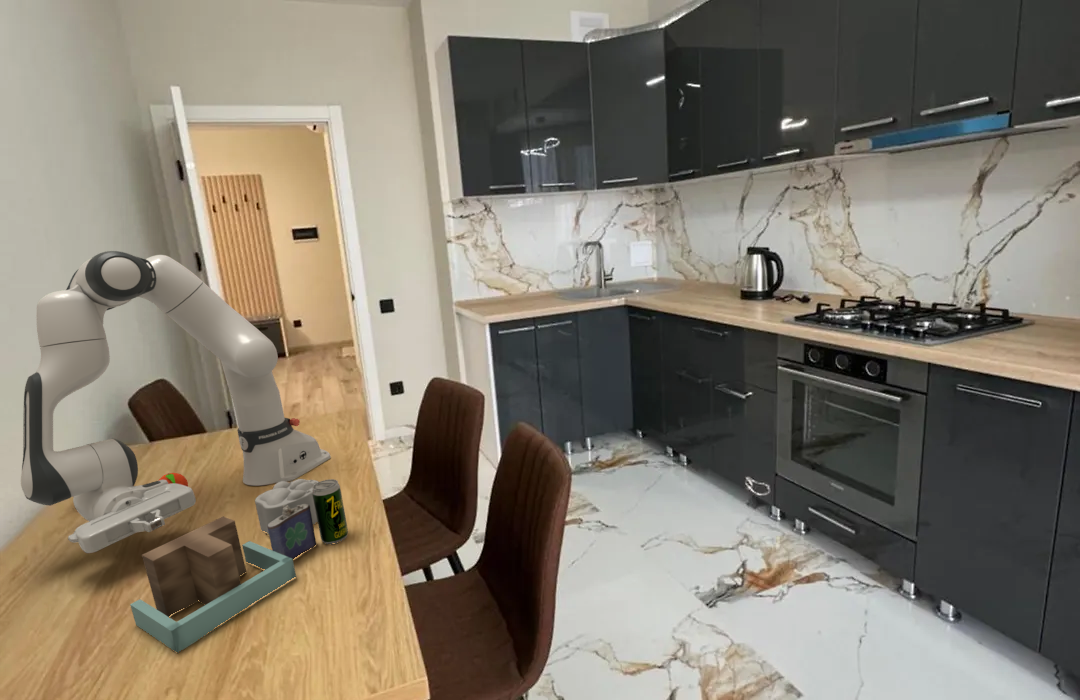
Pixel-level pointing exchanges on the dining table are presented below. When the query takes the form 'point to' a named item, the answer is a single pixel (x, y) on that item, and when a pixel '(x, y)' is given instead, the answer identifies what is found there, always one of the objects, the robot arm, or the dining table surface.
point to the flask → (292, 531)
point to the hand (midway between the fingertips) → (156, 524)
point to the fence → (217, 601)
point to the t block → (195, 566)
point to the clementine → (175, 479)
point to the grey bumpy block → (284, 500)
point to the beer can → (330, 511)
